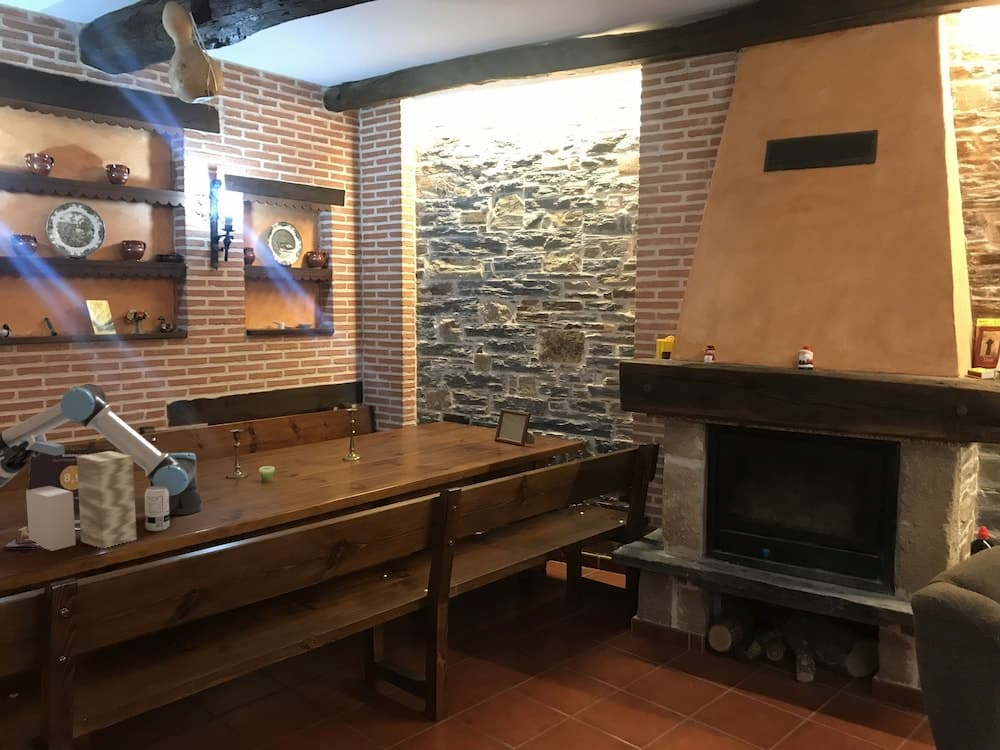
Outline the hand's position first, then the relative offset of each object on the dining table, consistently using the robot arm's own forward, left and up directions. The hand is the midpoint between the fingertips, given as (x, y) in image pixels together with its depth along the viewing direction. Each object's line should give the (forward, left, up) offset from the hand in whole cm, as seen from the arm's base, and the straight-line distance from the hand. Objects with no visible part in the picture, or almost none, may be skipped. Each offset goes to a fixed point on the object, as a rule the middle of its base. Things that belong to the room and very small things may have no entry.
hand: (39, 438), depth 277 cm
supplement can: (-31, +18, -36) cm, 51 cm away
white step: (0, +5, -36) cm, 37 cm away
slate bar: (0, +2, -4) cm, 5 cm away
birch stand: (-13, +17, -36) cm, 42 cm away
